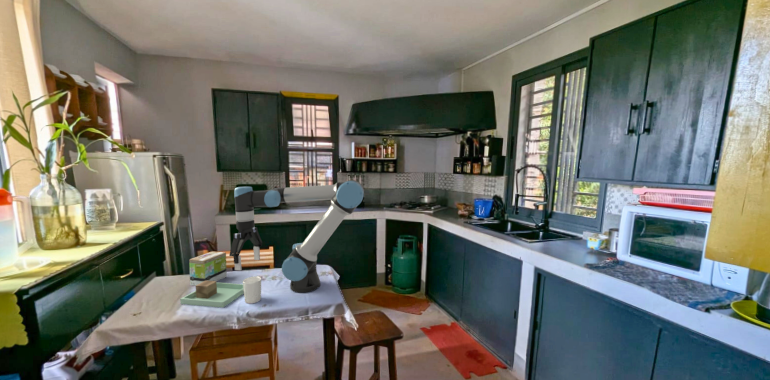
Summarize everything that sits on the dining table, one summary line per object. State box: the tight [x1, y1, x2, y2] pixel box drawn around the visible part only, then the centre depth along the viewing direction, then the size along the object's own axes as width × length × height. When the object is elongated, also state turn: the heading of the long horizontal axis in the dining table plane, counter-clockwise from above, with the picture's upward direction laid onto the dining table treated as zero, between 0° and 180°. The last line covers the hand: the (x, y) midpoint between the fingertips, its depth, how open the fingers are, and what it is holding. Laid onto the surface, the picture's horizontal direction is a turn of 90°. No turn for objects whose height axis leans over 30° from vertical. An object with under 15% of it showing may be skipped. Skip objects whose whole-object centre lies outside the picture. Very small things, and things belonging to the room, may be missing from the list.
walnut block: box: [195, 281, 217, 299], centre depth 136 cm, size 6×6×6 cm
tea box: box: [188, 250, 228, 287], centre depth 153 cm, size 15×10×15 cm
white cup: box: [242, 276, 262, 304], centre depth 132 cm, size 8×8×10 cm
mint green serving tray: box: [179, 281, 244, 308], centre depth 135 cm, size 22×19×3 cm
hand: (248, 264), depth 132 cm, fingers open, 13 cm apart
